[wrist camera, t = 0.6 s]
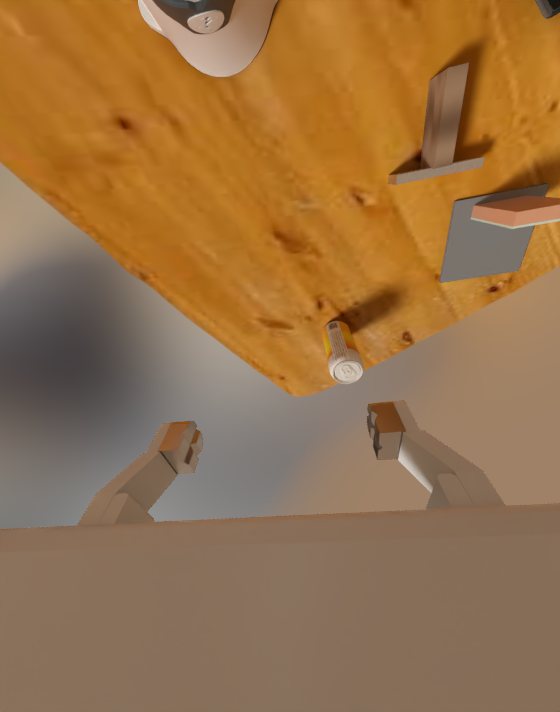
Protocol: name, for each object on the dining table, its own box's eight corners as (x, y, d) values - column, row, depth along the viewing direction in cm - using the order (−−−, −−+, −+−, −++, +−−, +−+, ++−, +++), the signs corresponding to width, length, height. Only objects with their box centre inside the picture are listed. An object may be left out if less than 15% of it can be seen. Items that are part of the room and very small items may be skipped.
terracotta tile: (473, 205, 43) (517, 212, 34) (526, 195, 42) (584, 200, 33) (470, 219, 44) (512, 228, 36) (521, 209, 43) (576, 217, 35)
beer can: (329, 346, 60) (339, 389, 48) (317, 327, 57) (324, 368, 45) (353, 335, 58) (370, 377, 46) (341, 314, 55) (357, 353, 43)
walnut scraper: (393, 89, 35) (406, 78, 31) (486, 66, 34) (513, 51, 30) (388, 184, 42) (398, 184, 38) (466, 167, 40) (486, 166, 36)
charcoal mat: (454, 201, 43) (455, 201, 42) (546, 183, 41) (549, 183, 41) (439, 281, 51) (440, 282, 50) (516, 269, 49) (518, 270, 48)
